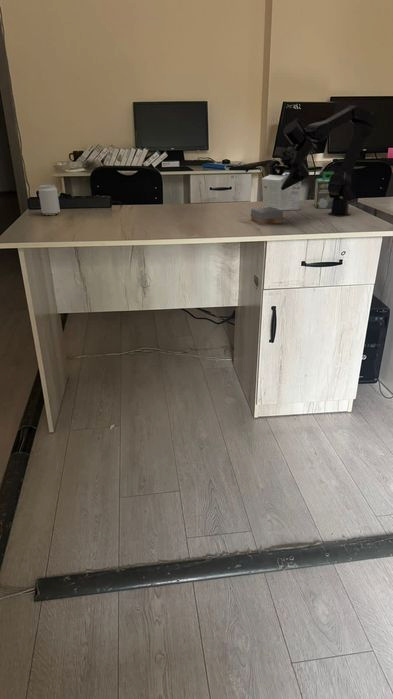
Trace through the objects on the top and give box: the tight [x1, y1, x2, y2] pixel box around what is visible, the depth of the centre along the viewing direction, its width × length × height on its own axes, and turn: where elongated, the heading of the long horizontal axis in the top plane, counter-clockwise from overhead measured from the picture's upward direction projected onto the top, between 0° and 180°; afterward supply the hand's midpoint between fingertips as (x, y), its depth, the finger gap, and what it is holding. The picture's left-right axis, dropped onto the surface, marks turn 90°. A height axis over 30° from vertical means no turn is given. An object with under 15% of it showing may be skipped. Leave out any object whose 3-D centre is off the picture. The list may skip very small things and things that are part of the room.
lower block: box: [250, 216, 284, 225], centre depth 197 cm, size 9×9×2 cm
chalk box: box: [313, 171, 335, 209], centre depth 220 cm, size 9×9×15 cm
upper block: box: [250, 207, 284, 220], centre depth 195 cm, size 9×9×2 cm
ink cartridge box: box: [276, 173, 302, 211], centre depth 216 cm, size 10×6×14 cm, turn 87°
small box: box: [261, 174, 289, 209], centre depth 187 cm, size 8×6×10 cm
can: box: [38, 184, 61, 214], centre depth 213 cm, size 8×8×12 cm
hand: (274, 187), depth 186 cm, fingers closed on small box, 9 cm apart
